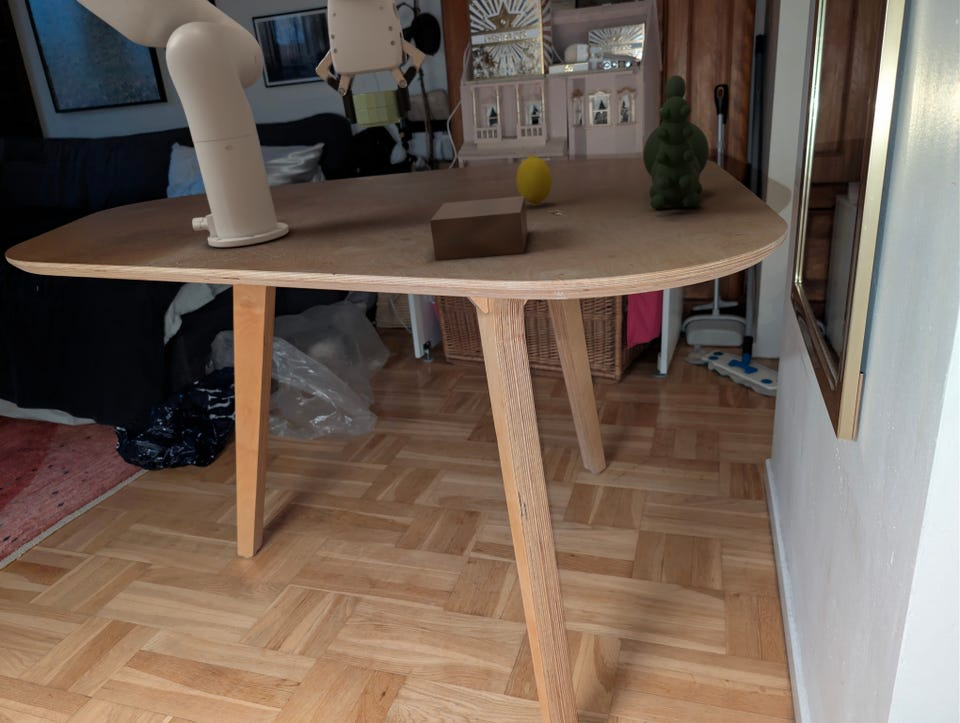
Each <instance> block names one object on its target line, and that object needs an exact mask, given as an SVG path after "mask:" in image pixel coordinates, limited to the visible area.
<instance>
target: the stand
mask: <svg viewBox="0 0 960 723" xmlns="http://www.w3.org/2000/svg"><path fill="white" fill-rule="evenodd" d="M526 206H527V205H526V201H525V196H508V197H499V198H498V197H497V198H496V197H495V198H487V199H476V200H475V199H474V200H463V201H453V202H452V201H451V202H444V203H443V204H442V205H441V206H440V207H439V208H438V209H437V211H436V212H435V214H434V215H433V216H432V217H431V219H429V224H430V228H431V229H430V231H431V238H432V246H433V252H434V253H433V254H434V260H435V261H442V260H456V259H467V258H480V257H482V258H483V257H491V256H507V255H519V254H520V255H521V254H524V253H525V248H526V244H527V237H528V219H527V208H526Z"/></svg>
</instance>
